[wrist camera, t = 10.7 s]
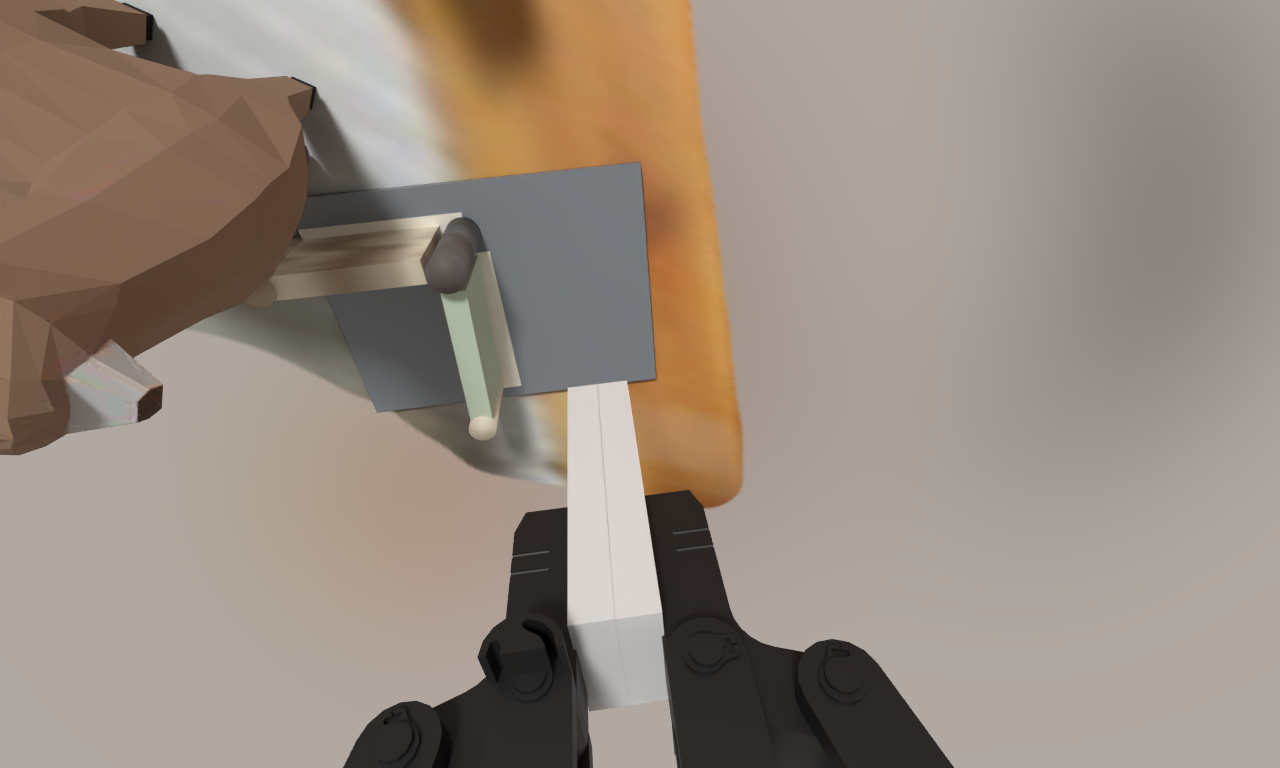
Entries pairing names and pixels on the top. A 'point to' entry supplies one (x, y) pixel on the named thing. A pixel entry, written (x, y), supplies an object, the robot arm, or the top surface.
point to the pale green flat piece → (475, 353)
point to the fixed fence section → (373, 263)
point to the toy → (125, 209)
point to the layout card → (506, 283)
